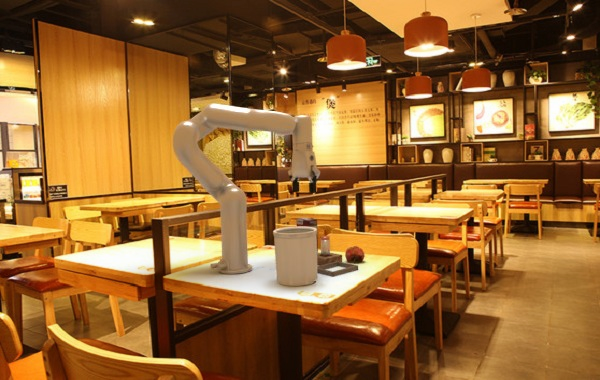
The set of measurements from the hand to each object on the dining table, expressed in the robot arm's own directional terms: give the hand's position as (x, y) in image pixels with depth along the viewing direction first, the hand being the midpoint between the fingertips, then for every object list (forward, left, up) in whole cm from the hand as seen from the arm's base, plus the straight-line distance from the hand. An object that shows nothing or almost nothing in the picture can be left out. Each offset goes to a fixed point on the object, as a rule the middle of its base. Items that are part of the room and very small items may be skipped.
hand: (304, 192), depth 172 cm
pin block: (+3, -7, -28) cm, 29 cm away
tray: (-2, -18, -28) cm, 34 cm away
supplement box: (+11, +11, -28) cm, 32 cm away
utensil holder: (-18, -15, -28) cm, 37 cm away
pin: (+4, -7, -27) cm, 28 cm away
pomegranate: (+13, -14, -28) cm, 34 cm away
